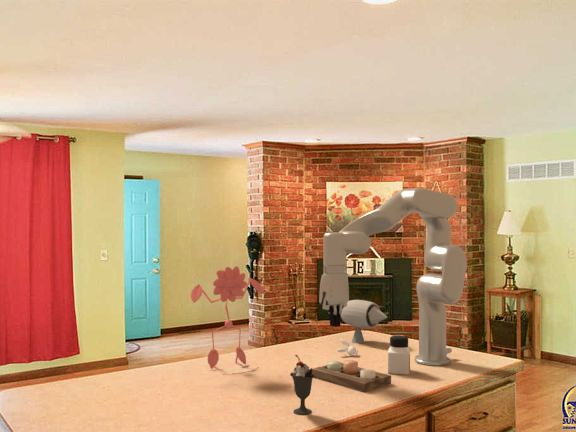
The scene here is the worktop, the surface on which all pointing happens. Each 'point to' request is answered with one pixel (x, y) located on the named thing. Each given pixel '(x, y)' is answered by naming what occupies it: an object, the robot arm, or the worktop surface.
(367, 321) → the jet engine
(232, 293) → the figurine
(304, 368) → the sundae
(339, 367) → the sage button
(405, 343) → the medicine bottle
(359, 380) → the button board
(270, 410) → the worktop surface
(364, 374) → the cream egg
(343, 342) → the rabbit figurine
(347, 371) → the peach rounded dome
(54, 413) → the worktop surface
